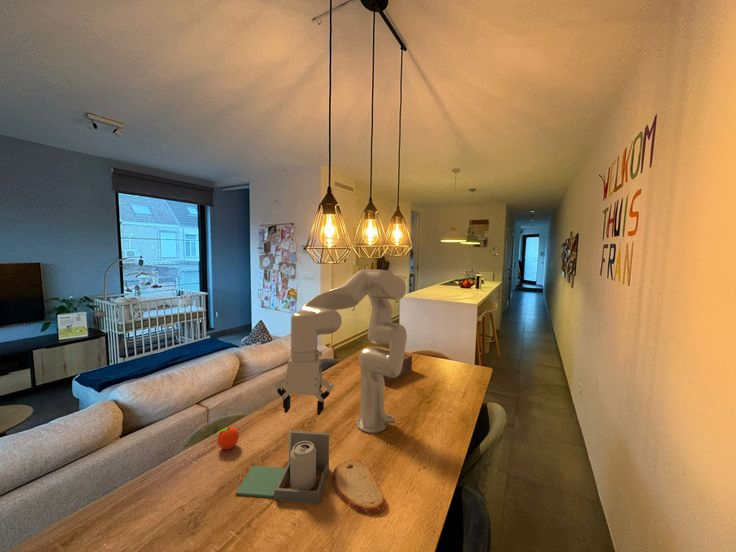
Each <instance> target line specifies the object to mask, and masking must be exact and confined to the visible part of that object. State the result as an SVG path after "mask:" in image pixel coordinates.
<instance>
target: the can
mask: <svg viewBox="0 0 736 552" xmlns="http://www.w3.org/2000/svg"><path fill="white" fill-rule="evenodd" d="M289 476H290V478H289V479H290V480H289V486H290V489H296V490H309V491H311V490H312V489H313V488H314V487H315V485H316V482H317V472H316V448H315V447H314V444H313V443H312V442H309V441H301V442H298V443H296V444H295V445H294V446H293V449H292V451H291V454H290V474H289Z"/></svg>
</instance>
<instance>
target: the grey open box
mask: <svg viewBox="0 0 736 552" xmlns="http://www.w3.org/2000/svg"><path fill="white" fill-rule="evenodd" d="M301 441H309V442H312V443H313V444H314V447H315V448H316V473H321V478H320V481H319V483H318V487H317V490H296V489H292V488H285V485H286V482H287V481H288V478H289V476H290V454H291V451H292V449H293V446H294V445H295V444H296V443H298V442H301ZM284 468H285V470H284V472H283V474H282V476H281V478H280V480H279V482H278V484H277V486H276V488H275V495H274V501H283V502H290V503H291V502H293V503H304V504H305V503H306V504H314V505H315V504H317V505H319V504H320V502H321V498H322V495H323V492H324V488H325V484H326V482H327V478H328V473H329V471H330V470H329V469H330V432H316V431H304V430H291V429H290V430H288V462H287V463H286V466H285V467H284Z"/></svg>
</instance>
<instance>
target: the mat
mask: <svg viewBox="0 0 736 552" xmlns="http://www.w3.org/2000/svg"><path fill="white" fill-rule="evenodd" d="M285 468H286V467H276V466H264V465H252V467H251V468H250V469H249V471H248V472H247V474H246V475H245V477H244V479H243V480H242V481H241V483H240V484H239V487H238V488H237V489H236V491H235V495H237V496H246V497H248V496H249V497H260V498H261V497H262V498H273V499H274V498H275V488H276V486H277V484H278V482H279V480H280V478H281V476H282V474H283V472H284V470H285Z"/></svg>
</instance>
